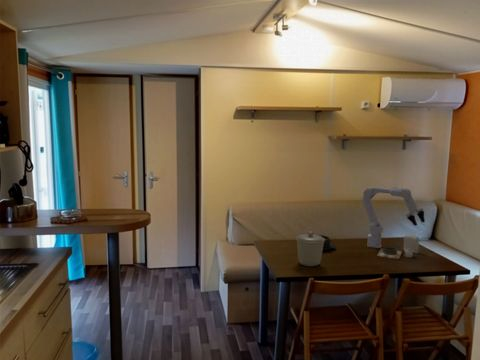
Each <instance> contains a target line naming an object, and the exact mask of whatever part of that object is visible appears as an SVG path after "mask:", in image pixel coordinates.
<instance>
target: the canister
mask: <svg viewBox="0 0 480 360" xmlns="http://www.w3.org/2000/svg"><path fill="white" fill-rule="evenodd" d="M319 235H320V234H315V233H314V232H313V231H311V230H310V231H308V232H307V233H304V234H298V235H297V236H295V240H296V245H297V246H296V247H297V257H298V259H297V260H298V263H300V265H303V266H304V267H305V266H306V267H316V266H319V265H320V263H321V262H322V261H321V260H322V255H323V251H322V250H323V244H324V241H325V239H324V238H323V237H321V236H319Z"/></svg>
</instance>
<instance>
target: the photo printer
mask: <svg viewBox="0 0 480 360" xmlns="http://www.w3.org/2000/svg"><path fill="white" fill-rule="evenodd" d="M419 241H420V238H419V237H418V236H417V235H415V234H410V233H409V234H405V235H404V237H403V251H404V252H405V249H406V248H411V249H413V254H418V253H419V245H420V244H419V243H420V242H419Z"/></svg>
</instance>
